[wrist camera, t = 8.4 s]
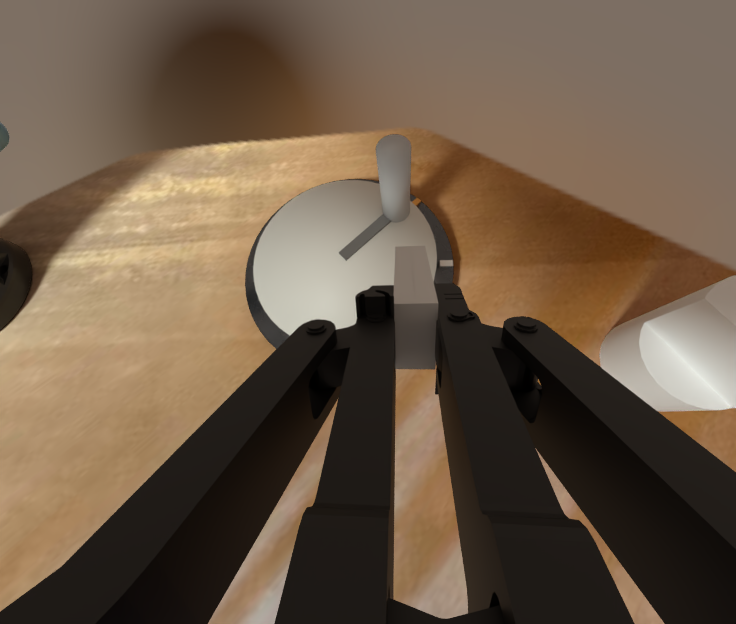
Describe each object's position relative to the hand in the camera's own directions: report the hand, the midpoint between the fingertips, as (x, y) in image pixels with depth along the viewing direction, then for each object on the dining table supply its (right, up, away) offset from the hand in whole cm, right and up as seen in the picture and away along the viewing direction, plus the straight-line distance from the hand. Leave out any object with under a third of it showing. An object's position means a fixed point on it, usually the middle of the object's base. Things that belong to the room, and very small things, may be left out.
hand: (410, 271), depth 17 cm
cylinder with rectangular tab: (+26, -7, +16) cm, 31 cm away
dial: (-5, +3, +20) cm, 21 cm away
